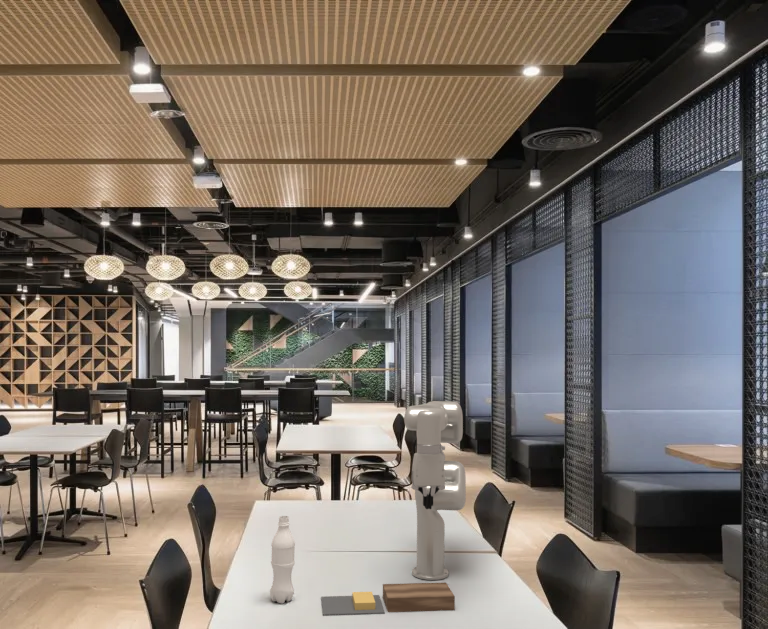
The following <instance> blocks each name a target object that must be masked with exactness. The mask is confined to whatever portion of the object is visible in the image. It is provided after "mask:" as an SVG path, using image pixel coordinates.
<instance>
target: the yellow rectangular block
mask: <svg viewBox="0 0 768 629" xmlns="http://www.w3.org/2000/svg"><path fill="white" fill-rule="evenodd" d="M351 593H352V594H351V596H352V600H353V604H354V608H355V610H374V609H375V600H374V597H373V595H374V593H373V591H352V592H351Z"/></svg>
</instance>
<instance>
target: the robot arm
mask: <svg viewBox="0 0 768 629" xmlns="http://www.w3.org/2000/svg"><path fill="white" fill-rule="evenodd" d="M463 416H464V415H463V410H462V407H461V405H460V404H459V403H458V402H457V401H451V400H450V401H444V400H442V401H441V400H433V401H428V402H427V403H423V404H416V405H410V406H408V407H407V408H406V410H405V413H404V418H403V419H404V420H403V421H404V426H405V428H406V429H407V430H409V431H415V432H416V452H415V453H414V454H413V459H412V467H411V482H412V484H411V489H412V490H414V498H415V499H414V500H415V506H416V566H415V567H413V568H412V569H411V574H412V576H413V577H415V578H417V579H421V580H426V581H436V580H437V581H440V580H443V579H447V578H448V577H449V570H448V569H447V568H446V567H445V531H446V530H445V528H446V527H445V521H444V518H443V517H442V516H441V514H440V513H439V511H462V509H463V508H464V507H465V505H466V499H467V494H466V493H467V492H466V491H467V489H466V488H467V486H466V485H467V484H466V469H465V466H464V464H463V463H462V462H461V461H458V460H457V461H456V460H446V455H445V453H444V451H446V446H445V445H442V444H445V443H446V444H457V443H459V442H461V441H462V440H463V434H464V429H463V428H464V426H463V425H464V424H463V423H464V422H463V421H464V420H463Z"/></svg>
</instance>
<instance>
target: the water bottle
mask: <svg viewBox="0 0 768 629" xmlns="http://www.w3.org/2000/svg"><path fill="white" fill-rule="evenodd" d="M277 526H278V528H277V531H276V533H275V535H273V539H272V541H271V561H270V565H271V568H272V573H273V577H272V578H273V580H272V585H271V588H270V590H269V592H270V593H269V594H270V598H271V601H272V602H277V603H278V604H284V603H285V601H286V602H288V603H289V602H291V601H292V599H293V597H294V592H295V589H294V585H293V582H292V581H293V580H292V574H293V573H292V572H293V569H294V566H295V563H296V562H295V549H296V548H295V547H296V542H295V538H294V536H293V533H291V530H290V517H289V515H281V516H279V517H278V524H277Z"/></svg>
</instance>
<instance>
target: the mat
mask: <svg viewBox="0 0 768 629" xmlns="http://www.w3.org/2000/svg"><path fill="white" fill-rule="evenodd" d="M373 597H374V600H375V609H374V610H355V608H354V604H353V600H352V595H333V596H332V595H330V596H328V595H326V596H321V597H320V600H321V611H322V612H321V613H322V616H323V617H325V616H326V617H327V616H330V617H331V616H353V615H354V616H357V615H361V616H362V615H385V614H386V612H385V609H384V606H383V602H382V599H381V596H380V594H373Z"/></svg>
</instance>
